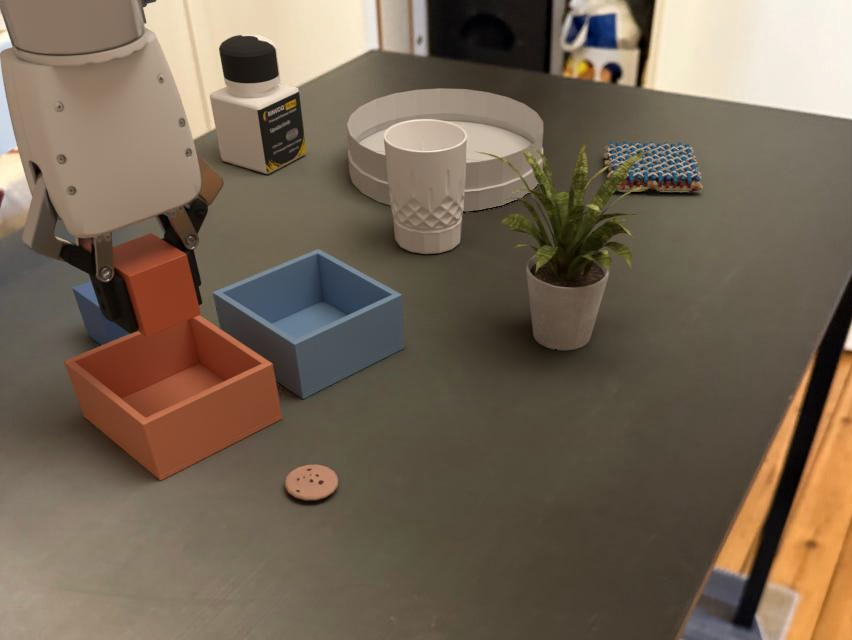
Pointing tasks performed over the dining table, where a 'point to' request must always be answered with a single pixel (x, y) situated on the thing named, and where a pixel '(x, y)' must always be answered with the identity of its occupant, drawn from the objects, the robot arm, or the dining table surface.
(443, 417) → the dining table surface
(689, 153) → the woven mat
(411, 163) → the white cup
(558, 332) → the house plant
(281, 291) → the blue bin
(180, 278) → the terracotta block
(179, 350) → the terracotta bin
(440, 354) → the dining table surface
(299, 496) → the cookie
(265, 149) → the medicine bottle
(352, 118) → the dish
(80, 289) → the blue block
